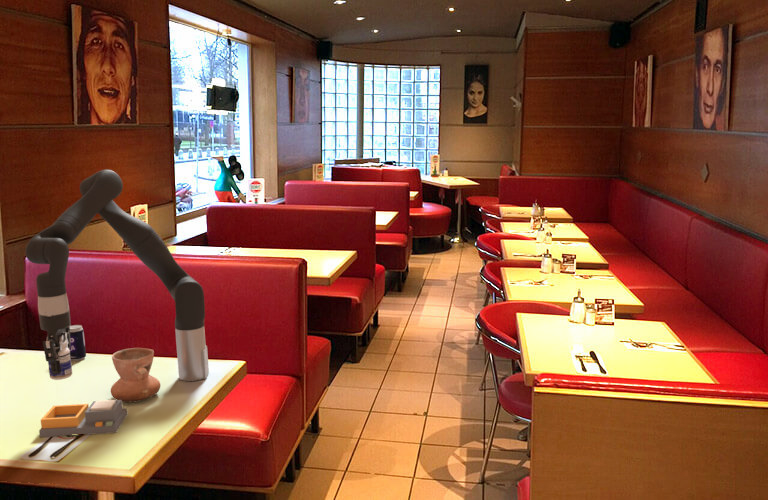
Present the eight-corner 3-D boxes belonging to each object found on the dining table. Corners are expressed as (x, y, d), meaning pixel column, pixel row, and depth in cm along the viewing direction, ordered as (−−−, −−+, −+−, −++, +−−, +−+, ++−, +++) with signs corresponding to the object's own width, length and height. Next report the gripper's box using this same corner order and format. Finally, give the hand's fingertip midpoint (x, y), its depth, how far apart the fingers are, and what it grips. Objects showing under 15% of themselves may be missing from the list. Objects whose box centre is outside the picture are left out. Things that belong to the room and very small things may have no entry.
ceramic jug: (169, 399, 215) (166, 354, 213) (121, 411, 207) (117, 364, 204) (149, 384, 229) (145, 341, 227) (103, 394, 221) (99, 350, 219)
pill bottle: (49, 375, 196) (45, 340, 194) (71, 371, 199) (68, 337, 197) (50, 381, 191) (46, 346, 189) (73, 378, 194) (69, 343, 192)
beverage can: (72, 356, 257) (69, 324, 255) (88, 356, 258) (85, 324, 255) (66, 361, 252) (63, 329, 249) (83, 361, 252) (79, 328, 250)
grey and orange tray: (127, 414, 205) (125, 396, 204) (116, 432, 193) (114, 413, 192) (55, 418, 203) (53, 400, 202) (39, 437, 191) (37, 418, 190)
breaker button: (117, 413, 201) (116, 399, 200) (112, 420, 196) (110, 407, 195) (97, 414, 200) (96, 400, 200) (91, 422, 195) (90, 408, 194)
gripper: (49, 304, 198) (55, 361, 201) (29, 318, 184) (36, 380, 187) (77, 303, 199) (83, 360, 202) (58, 317, 185) (65, 378, 188)
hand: (60, 369), depth 194 cm, fingers closed on pill bottle, 5 cm apart
